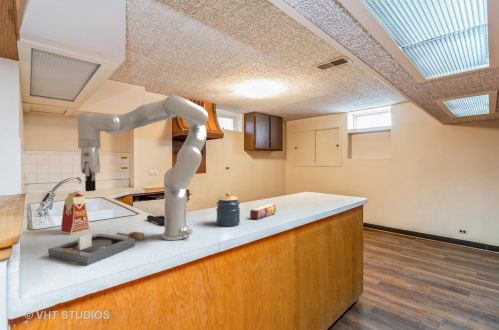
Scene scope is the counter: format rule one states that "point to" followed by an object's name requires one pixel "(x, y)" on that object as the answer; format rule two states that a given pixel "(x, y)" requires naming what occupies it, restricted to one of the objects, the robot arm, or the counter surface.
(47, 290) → the counter surface
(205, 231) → the counter surface
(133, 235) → the screwdriver
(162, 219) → the door handle
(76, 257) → the tray
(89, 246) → the dial
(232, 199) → the canister
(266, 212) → the snack package
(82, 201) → the milk carton
